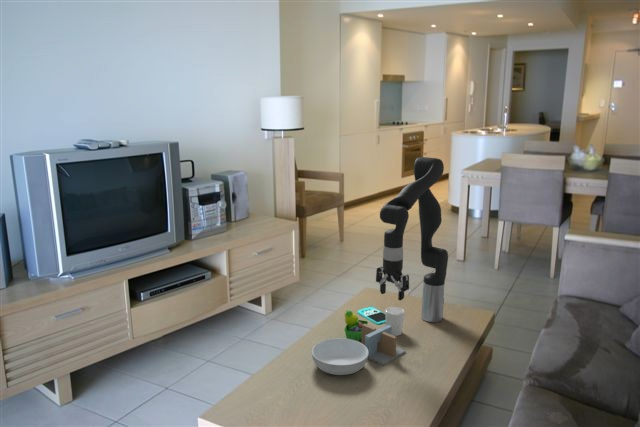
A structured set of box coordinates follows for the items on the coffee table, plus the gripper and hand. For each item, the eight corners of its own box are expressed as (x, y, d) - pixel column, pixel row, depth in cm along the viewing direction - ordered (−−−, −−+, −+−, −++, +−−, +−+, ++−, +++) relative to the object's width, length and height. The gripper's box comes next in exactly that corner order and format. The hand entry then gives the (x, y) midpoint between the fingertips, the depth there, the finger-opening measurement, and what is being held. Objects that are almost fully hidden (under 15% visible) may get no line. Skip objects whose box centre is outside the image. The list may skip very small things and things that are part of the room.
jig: (373, 338, 216) (374, 319, 214) (405, 352, 205) (406, 331, 203) (350, 350, 206) (351, 329, 204) (382, 365, 195) (383, 343, 193)
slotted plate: (387, 342, 211) (387, 324, 209) (390, 344, 209) (391, 326, 207) (364, 354, 201) (365, 335, 199) (368, 356, 200) (369, 337, 198)
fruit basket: (361, 344, 211) (362, 318, 209) (340, 340, 214) (341, 315, 211) (368, 332, 222) (369, 307, 219) (347, 329, 224) (348, 304, 222)
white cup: (402, 328, 225) (403, 307, 223) (403, 337, 218) (404, 314, 215) (384, 327, 226) (385, 306, 224) (384, 336, 218) (385, 313, 216)
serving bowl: (338, 348, 207) (338, 332, 206) (379, 368, 193) (380, 351, 191) (299, 366, 193) (299, 349, 191) (340, 389, 179) (341, 371, 177)
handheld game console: (372, 308, 247) (372, 305, 247) (394, 320, 234) (394, 318, 234) (355, 313, 242) (355, 310, 242) (377, 326, 229) (377, 323, 229)
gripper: (414, 258, 195) (412, 299, 199) (384, 250, 205) (383, 288, 209) (402, 263, 190) (400, 304, 194) (372, 254, 200) (371, 294, 204)
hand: (391, 296), depth 202 cm, fingers open, 8 cm apart
